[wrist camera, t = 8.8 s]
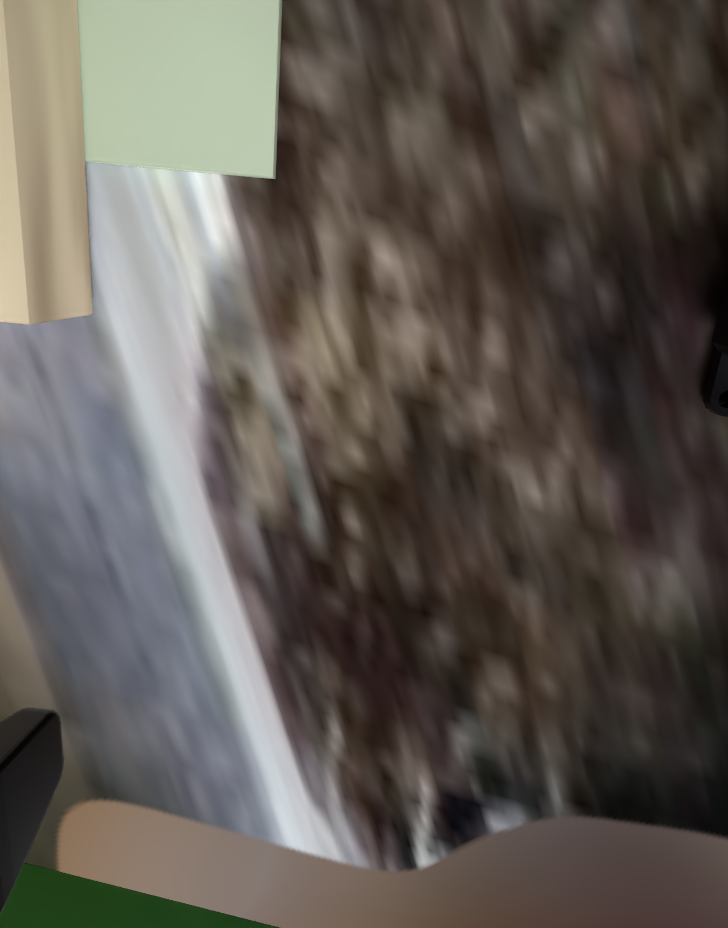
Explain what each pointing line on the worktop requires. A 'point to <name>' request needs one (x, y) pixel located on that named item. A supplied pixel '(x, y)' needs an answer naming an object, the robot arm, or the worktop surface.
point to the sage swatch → (181, 84)
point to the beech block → (42, 165)
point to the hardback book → (100, 906)
